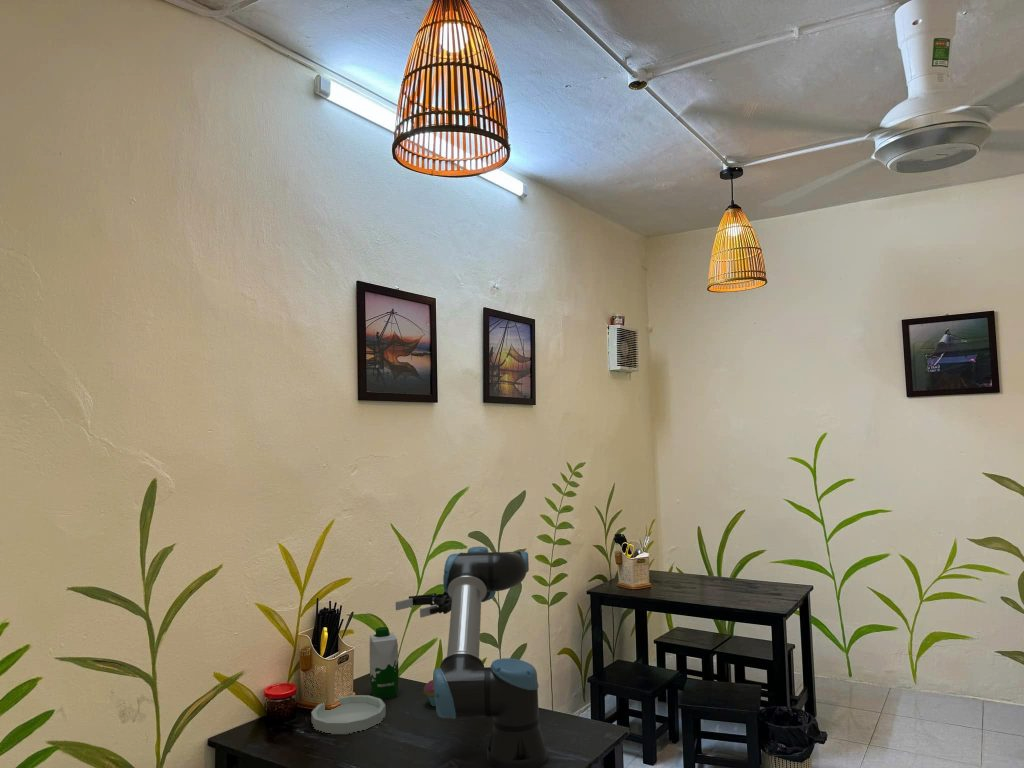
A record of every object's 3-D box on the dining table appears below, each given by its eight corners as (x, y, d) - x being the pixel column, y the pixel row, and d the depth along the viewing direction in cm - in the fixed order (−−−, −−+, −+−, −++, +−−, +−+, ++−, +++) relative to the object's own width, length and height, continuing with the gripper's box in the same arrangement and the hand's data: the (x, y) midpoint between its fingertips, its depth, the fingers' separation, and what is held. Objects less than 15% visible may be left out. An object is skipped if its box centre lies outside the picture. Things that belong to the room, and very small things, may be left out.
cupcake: (457, 701, 217) (456, 661, 218) (440, 711, 210) (439, 670, 210) (435, 697, 221) (434, 657, 222) (418, 706, 214) (417, 666, 215)
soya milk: (395, 687, 230) (394, 625, 232) (400, 697, 222) (399, 632, 223) (368, 692, 228) (367, 628, 229) (372, 702, 219) (371, 636, 220)
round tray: (399, 714, 209) (398, 703, 209) (345, 740, 192) (345, 728, 192) (352, 700, 221) (351, 690, 221) (297, 724, 204) (297, 713, 204)
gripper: (481, 613, 239) (431, 628, 224) (436, 602, 257) (386, 614, 242) (481, 591, 239) (431, 604, 225) (435, 581, 257) (386, 592, 243)
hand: (408, 609), depth 233 cm, fingers open, 13 cm apart
